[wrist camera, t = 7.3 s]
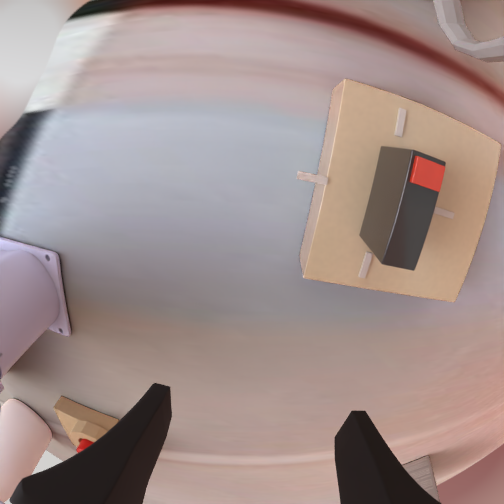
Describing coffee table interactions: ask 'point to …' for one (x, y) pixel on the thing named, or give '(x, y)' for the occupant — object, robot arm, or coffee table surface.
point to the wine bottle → (19, 444)
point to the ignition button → (84, 444)
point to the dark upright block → (401, 205)
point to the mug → (466, 33)
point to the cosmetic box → (423, 475)
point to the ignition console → (82, 421)
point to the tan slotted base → (360, 184)
